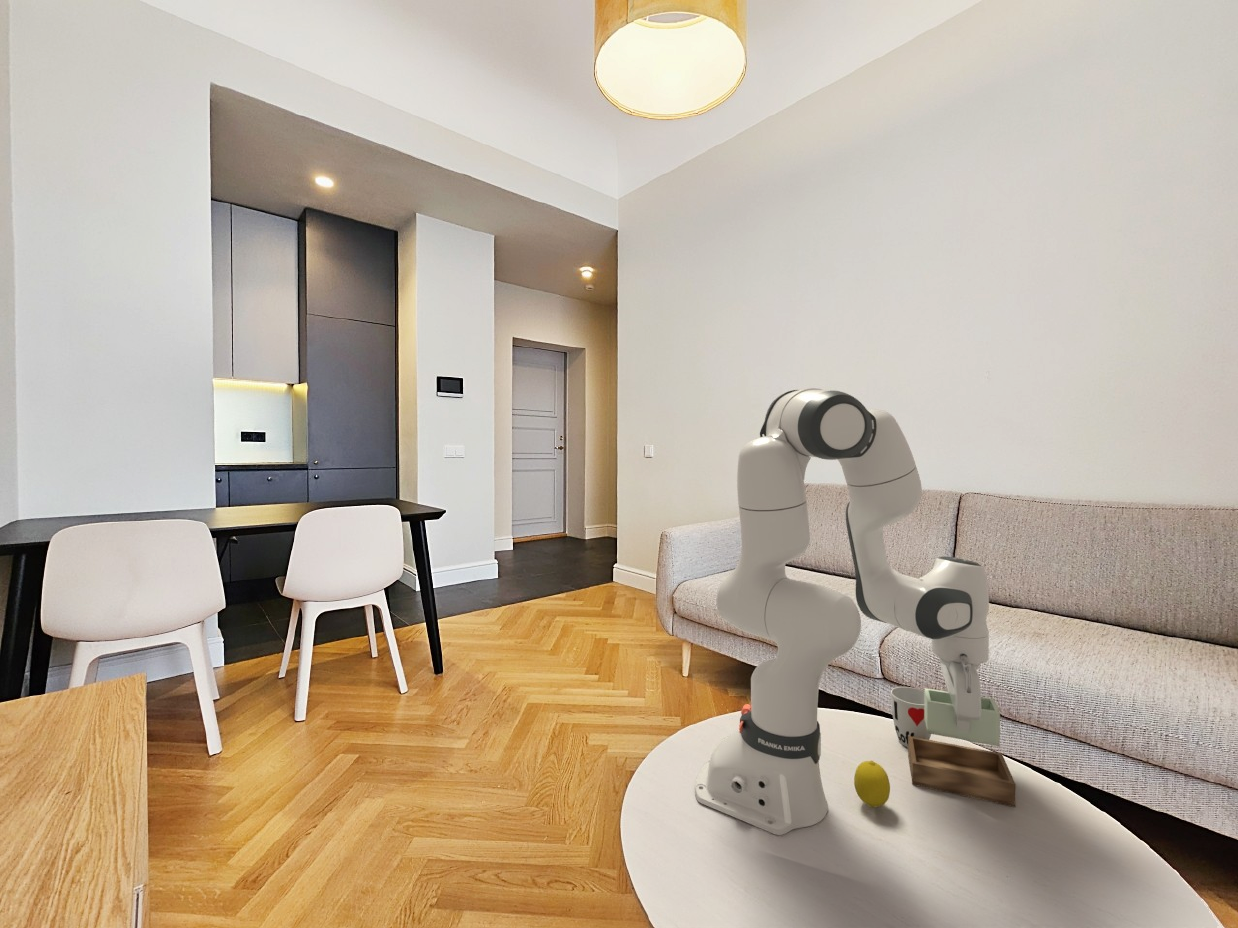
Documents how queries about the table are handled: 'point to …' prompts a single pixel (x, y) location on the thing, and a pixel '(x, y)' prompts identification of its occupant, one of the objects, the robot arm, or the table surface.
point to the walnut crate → (961, 770)
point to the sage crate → (944, 719)
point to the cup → (908, 713)
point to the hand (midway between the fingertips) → (959, 719)
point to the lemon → (872, 784)
